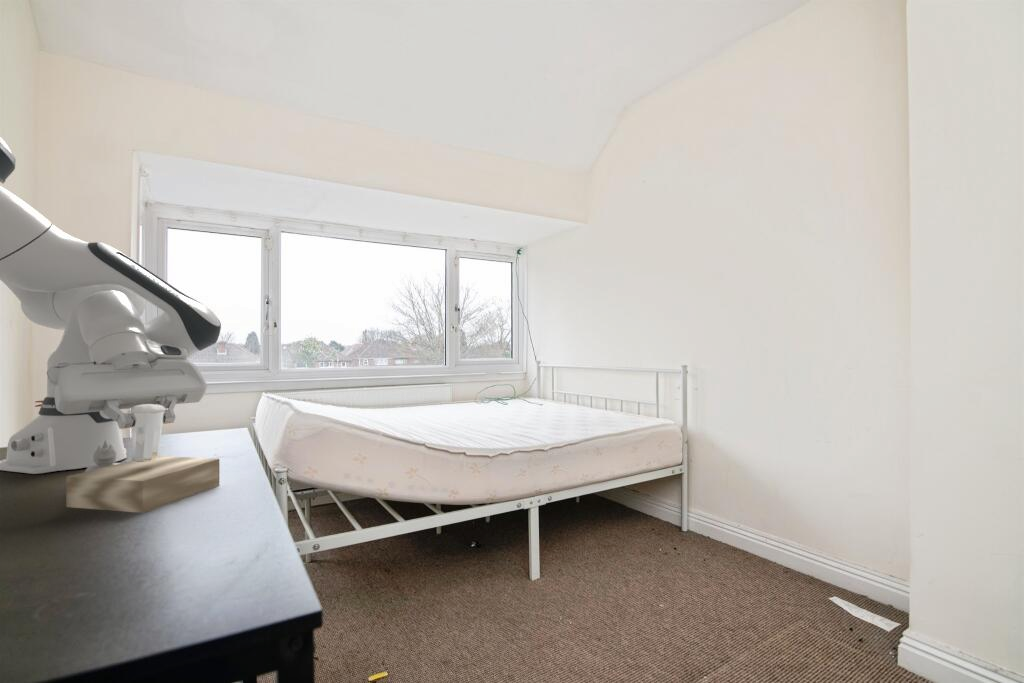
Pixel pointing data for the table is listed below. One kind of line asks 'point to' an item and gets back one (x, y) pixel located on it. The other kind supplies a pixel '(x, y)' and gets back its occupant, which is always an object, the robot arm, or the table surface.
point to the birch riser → (141, 484)
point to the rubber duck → (103, 457)
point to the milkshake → (146, 431)
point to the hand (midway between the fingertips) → (149, 423)
